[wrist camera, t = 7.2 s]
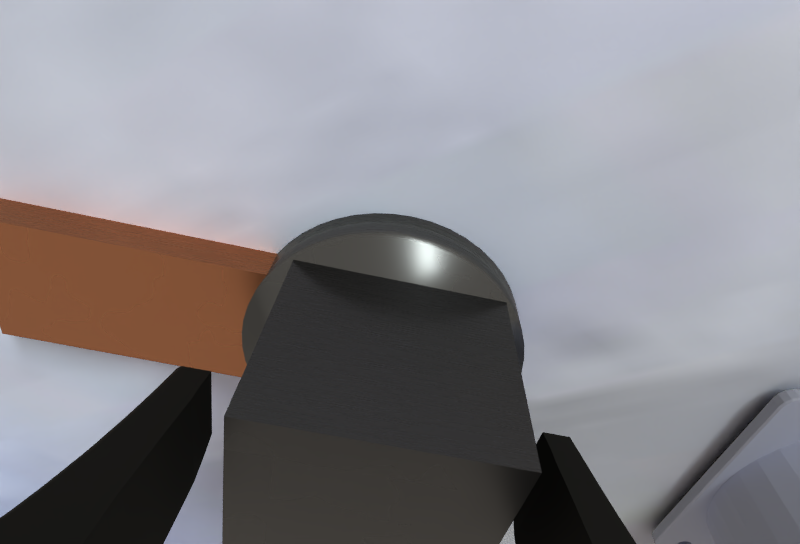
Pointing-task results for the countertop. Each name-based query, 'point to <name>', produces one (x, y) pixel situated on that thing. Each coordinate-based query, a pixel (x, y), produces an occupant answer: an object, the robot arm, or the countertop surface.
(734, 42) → the countertop surface
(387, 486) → the dark grey cube
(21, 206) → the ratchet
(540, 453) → the robot arm
